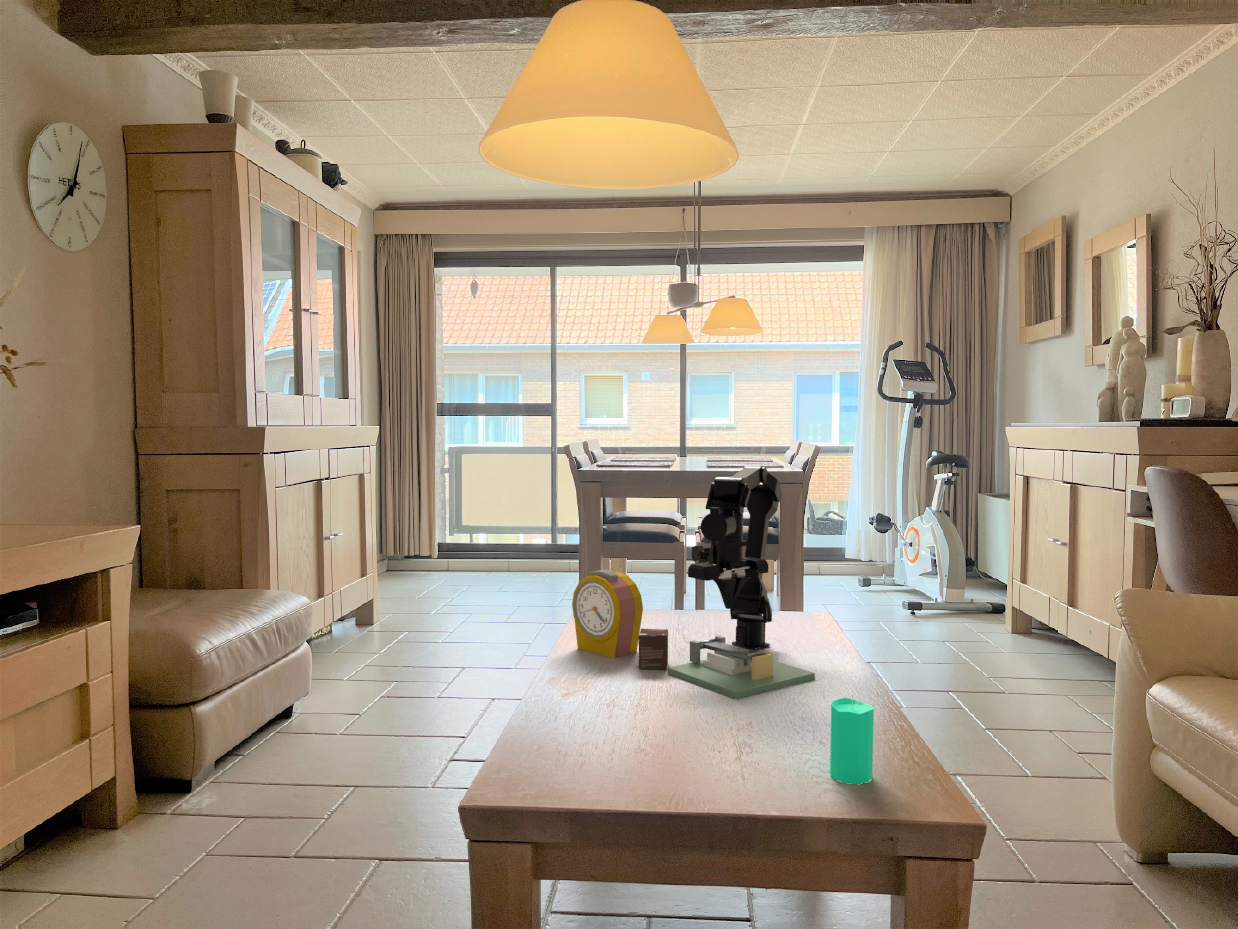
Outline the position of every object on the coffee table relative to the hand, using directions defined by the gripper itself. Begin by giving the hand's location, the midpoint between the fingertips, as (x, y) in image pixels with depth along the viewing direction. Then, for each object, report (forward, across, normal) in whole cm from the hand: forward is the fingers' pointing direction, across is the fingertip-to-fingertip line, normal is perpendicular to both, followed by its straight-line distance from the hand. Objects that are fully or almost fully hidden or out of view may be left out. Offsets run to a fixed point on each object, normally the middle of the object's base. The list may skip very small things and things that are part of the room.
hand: (728, 608), depth 179 cm
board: (+12, +4, +8) cm, 15 cm away
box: (+12, +14, -8) cm, 20 cm away
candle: (+12, +26, +53) cm, 60 cm away
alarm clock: (+12, +15, -24) cm, 31 cm away
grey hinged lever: (+8, +4, +5) cm, 10 cm away
